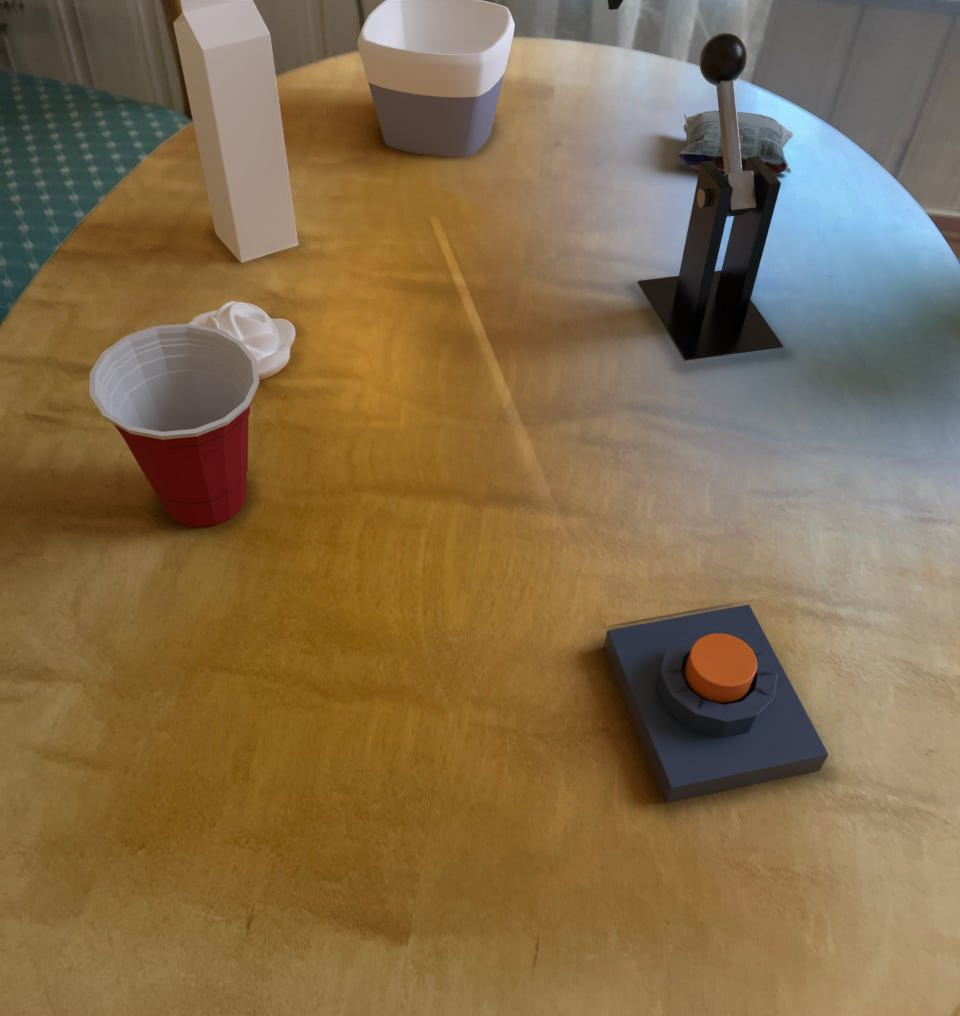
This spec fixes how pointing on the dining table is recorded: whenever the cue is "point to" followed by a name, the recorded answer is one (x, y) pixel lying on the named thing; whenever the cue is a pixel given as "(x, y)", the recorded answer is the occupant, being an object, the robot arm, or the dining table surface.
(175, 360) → the plastic cup
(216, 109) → the milk
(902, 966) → the dining table surface
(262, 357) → the rose
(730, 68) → the lever
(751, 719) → the button box
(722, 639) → the button
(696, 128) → the packaged food
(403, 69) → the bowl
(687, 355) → the bracket
